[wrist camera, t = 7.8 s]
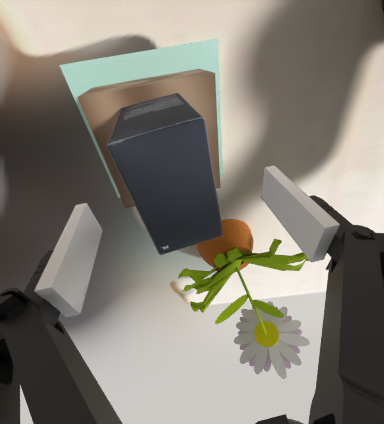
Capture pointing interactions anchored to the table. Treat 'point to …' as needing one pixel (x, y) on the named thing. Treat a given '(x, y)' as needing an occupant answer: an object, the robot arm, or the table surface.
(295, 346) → the decorative plant
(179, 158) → the small box
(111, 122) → the walnut block
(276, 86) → the table surface
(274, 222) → the table surface
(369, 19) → the table surface
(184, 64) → the baseplate
